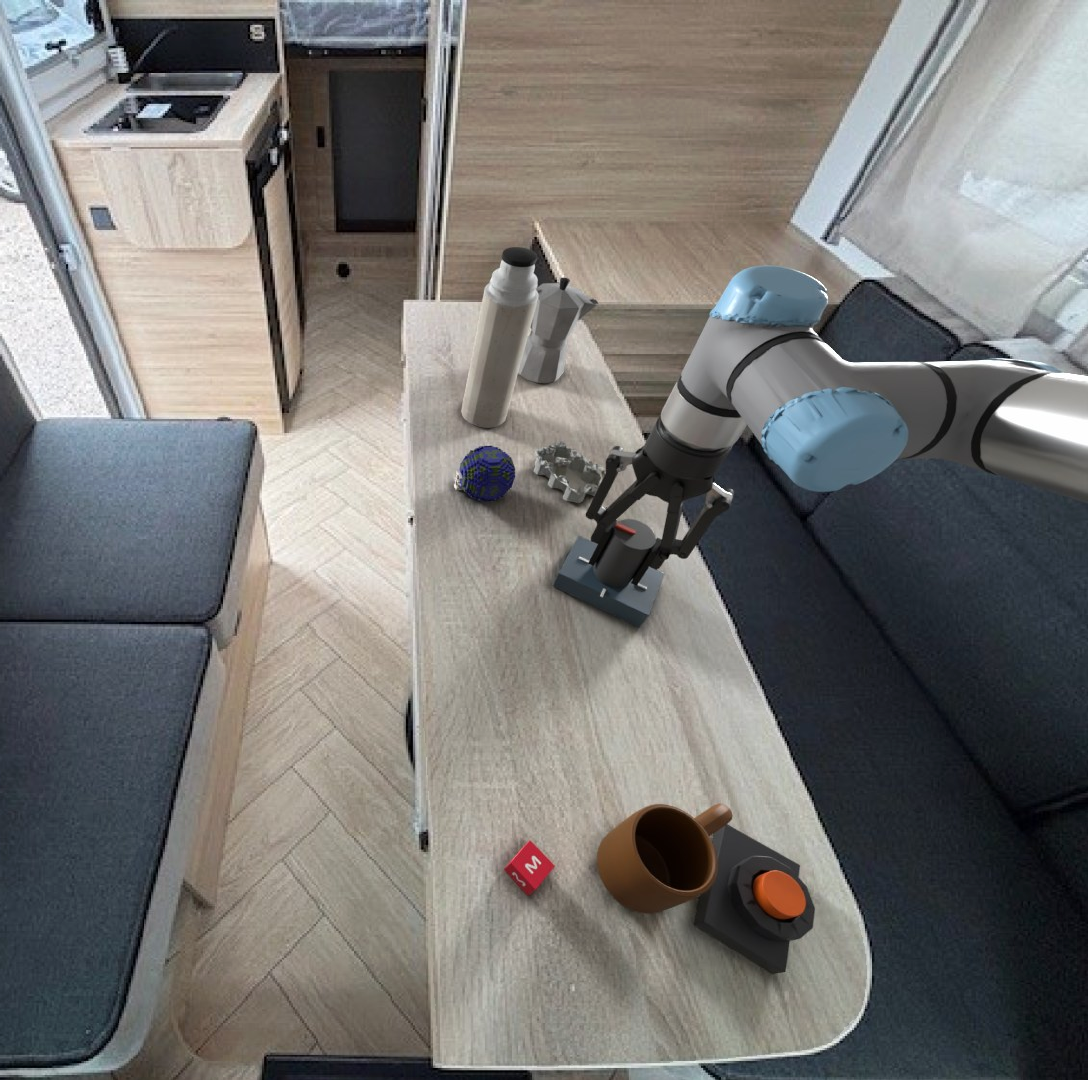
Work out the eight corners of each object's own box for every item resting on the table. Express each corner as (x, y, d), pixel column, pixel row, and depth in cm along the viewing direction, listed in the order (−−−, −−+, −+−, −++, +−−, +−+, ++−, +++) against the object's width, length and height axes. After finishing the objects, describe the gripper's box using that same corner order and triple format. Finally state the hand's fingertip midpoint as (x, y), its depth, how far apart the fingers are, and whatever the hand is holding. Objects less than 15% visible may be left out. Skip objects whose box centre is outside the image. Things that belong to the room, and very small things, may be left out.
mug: (664, 795, 63) (706, 764, 56) (721, 866, 59) (774, 843, 52) (578, 852, 59) (611, 826, 52) (632, 932, 55) (676, 917, 48)
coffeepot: (574, 362, 115) (605, 271, 102) (572, 390, 110) (605, 297, 96) (495, 349, 118) (516, 258, 104) (489, 375, 112) (510, 283, 98)
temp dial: (636, 568, 79) (661, 528, 73) (625, 594, 76) (650, 554, 70) (599, 552, 81) (621, 511, 74) (587, 577, 78) (609, 536, 71)
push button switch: (795, 874, 59) (820, 865, 55) (780, 979, 53) (807, 976, 50) (714, 828, 61) (734, 817, 58) (692, 924, 56) (713, 918, 52)
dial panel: (657, 583, 81) (666, 569, 79) (638, 631, 76) (648, 618, 74) (573, 545, 85) (580, 531, 83) (550, 589, 80) (557, 575, 78)
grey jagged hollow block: (605, 493, 92) (614, 475, 89) (568, 509, 90) (576, 490, 87) (561, 452, 98) (569, 433, 95) (525, 465, 96) (532, 446, 93)
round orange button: (796, 889, 54) (808, 885, 53) (791, 928, 52) (803, 925, 51) (755, 865, 56) (766, 861, 54) (749, 903, 54) (759, 899, 52)
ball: (460, 510, 89) (468, 474, 83) (451, 475, 94) (458, 438, 88) (512, 508, 90) (524, 471, 84) (500, 473, 94) (510, 436, 89)
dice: (522, 847, 59) (530, 839, 57) (546, 872, 58) (555, 865, 56) (503, 869, 58) (510, 862, 56) (527, 895, 57) (535, 889, 54)
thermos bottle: (487, 395, 108) (524, 236, 86) (515, 419, 103) (561, 259, 82) (452, 407, 105) (480, 247, 84) (479, 433, 101) (516, 270, 79)
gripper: (798, 441, 59) (692, 579, 77) (620, 380, 65) (560, 521, 82) (787, 485, 55) (677, 620, 72) (598, 415, 60) (540, 556, 78)
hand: (615, 567), depth 77 cm, fingers closed on temp dial, 5 cm apart
